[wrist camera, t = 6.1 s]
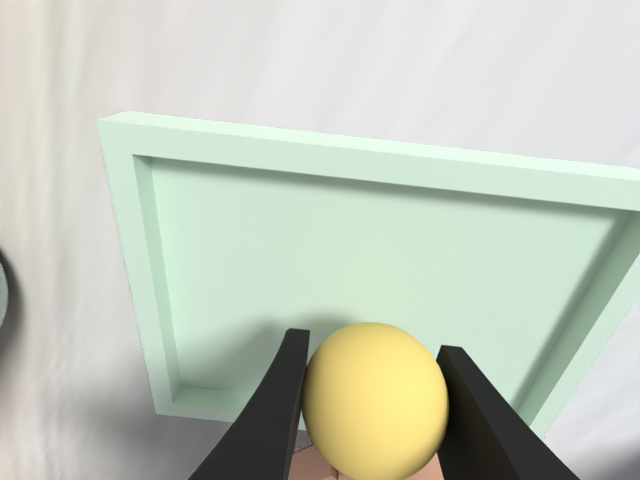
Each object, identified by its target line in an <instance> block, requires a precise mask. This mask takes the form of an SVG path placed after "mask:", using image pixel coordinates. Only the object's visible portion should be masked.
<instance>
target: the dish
mask: <svg viewBox="0 0 640 480" xmlns="http://www.w3.org/2000/svg"><path fill="white" fill-rule="evenodd" d="M288 480H355V479H353V478H351V477H349V476H347V475H345V474H343V473H341V472H340V471H338V470H337V469H336V468H334V467H333V466H332V465H330V464H329V463H328V462H327V461H326V460H325V459H324V457H323V456H322V455H321V454H320V453H319V452H318V450H317V449H316V447H315V446H314V445H312V446H310V447H308V448H305V449H303V450H301V451H299V452H296V453H294V454H293V456H292V461H291V466H290V471H289V476H288ZM403 480H444V478H443V474H442V471H441V467H440V463H439V459H438V456H437V452H436V454H435V455H434V457H433V458H432V459H431V460H430V461H429V463H428V464H427V465H425V466H424V467H423V468H422V469H421V470H420V471H418V472H417V473H415V474H413V475H412V476H410V477H408V478H406V479H403Z"/></svg>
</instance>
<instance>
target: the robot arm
mask: <svg viewBox="0 0 640 480" xmlns="http://www.w3.org/2000/svg"><path fill="white" fill-rule="evenodd" d="M309 338H310V330H303V329H294V328H289V329H288V330H286V332H285V336H284V338H283V341H282V343H281V346H280V348H279V350H278V352H277V354H276V356H275V358H274V360H273V362H272V364H271V365H270V367H269V369H268V371H267V372H266V374H265V376H264V377H263V379H262V381H261V383H260V384H259V386H258V388H257V389H256V391H255V392H254V394H253V395H252V397H251V398H250V400H249V401H248V403H247V404H246V406H245V407H244V409H243V410H242V412H241V413H240V415H239V416H238V417H237V419H236V420H235V422H234V423H233V424H232V426H231V427H230V428H229V430H228V431H227V432H226V434H225V435H224V436H223V438H222V439H221V440H220V441H219V443H218V444H217V445H216V447H215V448H214V449H213V450H212V452H211V453H210V454H209V455H208V456H207V458H206V459H205V460H204V461H203V462H202V464H201V465H200V466H199V467H198V468H197V470H196V471H195V472H194V473H193V474H192V475H191V477H190V478H189V479H188V480H288V476H289V471H290V466H291V461H292V456H293V451H294V446H295V441H296V436H297V430H298V425H299V420H300V415H301V397H302V390H303V384H304V378H305V373H306V366H307V357H308V348H309ZM436 362H437V364H438V365H439V367H440V370H441V372H442V374H443V377H444V379H445V382H446V386H447V391H448V396H449V421H448V425H447V429H446V433H445V436H444V439H443V441H442V443H441V445H440V448H439V449H438V451H437V456H438V459H439V463H440V467H441V471H442V474H443V478H444V480H580V479H579V478H578V477H577V476H576V475H575V474H574V473H573V472H572V471H571V470H570V469H569V468H568V467H567V466H566V465H565V464H564V463H563V462H562V461H561V460H560V459H559V458H558V457H557V456H556V455H555V454H554V453H553V452H552V451H551V450H550V449H549V448H548V447H547V446H546V445H545V444H544V443H543V442H542V440H541V439H540V438H539V437H538V436H537V435H536V434H535V433H534V432H533V431H532V430H531V429H530V428H529V426H528V425H527V424H526V423H525V422H524V421H523V420H522V419H521V417H520V416H519V415H518V414H517V413H516V412H515V411H514V409H513V408H512V407H511V406H510V405H509V404H508V402H507V401H506V400H505V399H504V398H503V397H502V395H501V394H500V393H499V392H498V391H497V389H496V388H495V387H494V386H493V385H492V383H491V382H490V381H489V380H488V378H487V377H486V376H485V375H484V374H483V372H482V371H481V370H480V369H479V367H478V366H477V365H476V364H475V362H474V361H473V360H472V359H471V357H470V356H469V355H468V354H467V353H466V351H465V350H464V349H463V348H462V347H458V346H449V345H441V347H440V350H439V353H438V355H437V358H436Z"/></svg>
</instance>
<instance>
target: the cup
mask: <svg viewBox="0 0 640 480" xmlns="http://www.w3.org/2000/svg"><path fill="white" fill-rule="evenodd" d="M7 307H8V282H7V278H6V275H5V271H4V268H3V266H2V264H1V262H0V328H1V326H2V325H3V322H4V318H5V315H6V312H7Z"/></svg>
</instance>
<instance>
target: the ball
mask: <svg viewBox="0 0 640 480" xmlns="http://www.w3.org/2000/svg"><path fill="white" fill-rule="evenodd" d="M301 409H302V416H303V420H304V423H305V427H306V430H307V432H308V434H309V437H310V439H311V441H312V442H313V444H314V446H315V447H316V449H317V450H318V452H319V453H320V454H321V455H322V456H323V457H324V459H325V460H326V461H327V462H328V463H329V464H330V465H332V466H333V467H334V468H336V469H337V470H338V471H340V472H341V473H343V474H345V475H347V476H349V477H351V478H353V479H355V480H403V479H406V478H408V477H410V476H412V475H413V474H415V473H417V472H418V471H420V470H421V469H422V468H423V467H424V466H425V465H427V464H428V463H429V461H430V460H431V459H432V458H433V457H434V455H435V454H436V452H437V451H438V449H439V448H440V445H441V443H442V441H443V439H444V436H445V433H446V429H447V425H448V421H449V396H448V391H447V386H446V382H445V379H444V377H443V374H442V372H441V370H440V367H439V365H438V364H437V362H436V360H435V359H434V357H433V356H432V354H431V353H430V352H429V351H428V350H427V348H426V347H425V346H424V345H423V344H422V343H421V342H419V341H418V340H417V339H416V338H414V337H413V336H412V335H410V334H409V333H407V332H405V331H403V330H401V329H399V328H397V327H395V326H392V325H388V324H383V323H376V322H364V323H358V324H353V325H350V326H347V327H344V328H342V329H340V330H338V331H336V332H335V333H333V334H332V335H330V336H329V337H328V338H327V339H325V340H324V341H323V342H322V343H321V344H320V346H319V347H318V348H317V349H316V351H315V352H314V353H313V355H312V357H311V359H310V360H309V362H308V364H307V367H306V373H305V378H304V384H303V390H302V397H301Z"/></svg>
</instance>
